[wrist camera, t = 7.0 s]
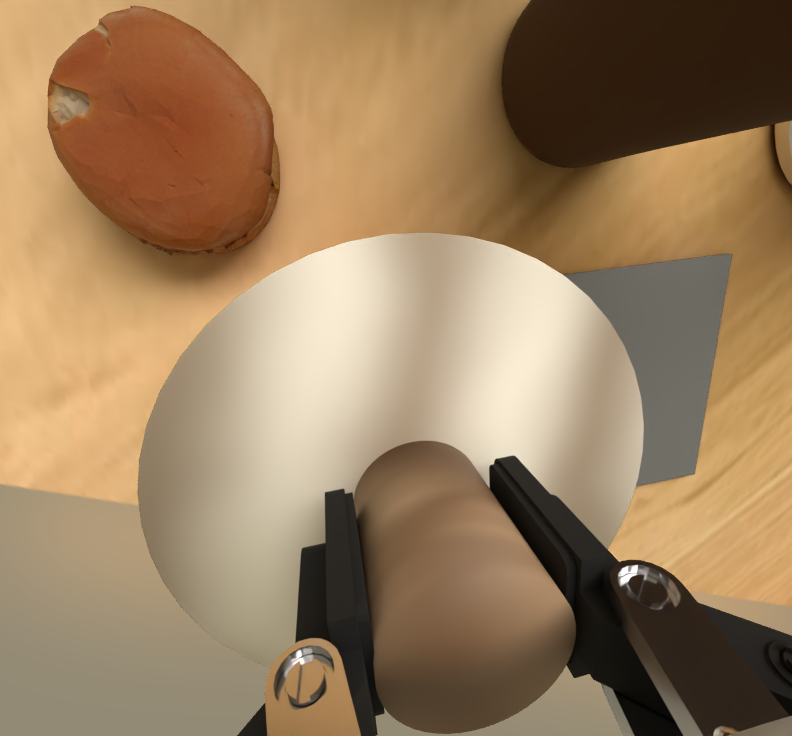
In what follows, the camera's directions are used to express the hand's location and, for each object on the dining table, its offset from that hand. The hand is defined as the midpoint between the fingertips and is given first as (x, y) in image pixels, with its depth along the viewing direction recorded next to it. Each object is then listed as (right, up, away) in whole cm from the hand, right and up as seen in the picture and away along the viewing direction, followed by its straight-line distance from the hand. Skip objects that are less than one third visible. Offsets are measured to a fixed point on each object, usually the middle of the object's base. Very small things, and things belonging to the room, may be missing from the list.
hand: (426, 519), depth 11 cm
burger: (-12, +15, +10) cm, 22 cm away
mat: (+15, +3, +18) cm, 24 cm away
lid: (0, +1, +2) cm, 2 cm away
